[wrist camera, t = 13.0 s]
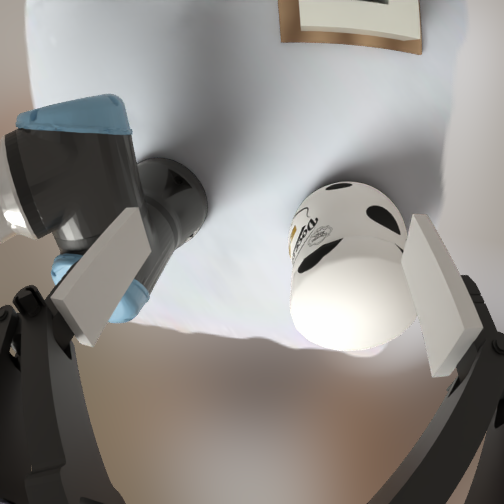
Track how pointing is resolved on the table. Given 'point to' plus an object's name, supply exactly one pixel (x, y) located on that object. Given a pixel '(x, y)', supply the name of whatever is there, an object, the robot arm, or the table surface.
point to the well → (362, 17)
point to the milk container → (349, 268)
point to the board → (336, 33)
